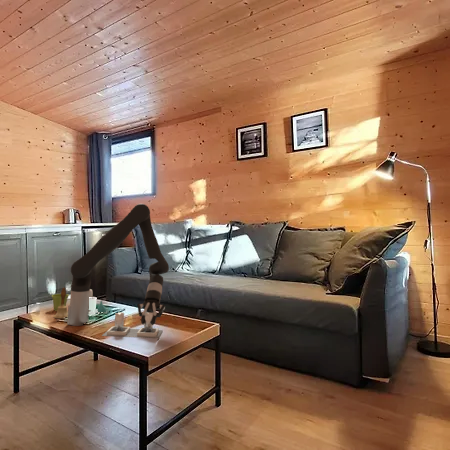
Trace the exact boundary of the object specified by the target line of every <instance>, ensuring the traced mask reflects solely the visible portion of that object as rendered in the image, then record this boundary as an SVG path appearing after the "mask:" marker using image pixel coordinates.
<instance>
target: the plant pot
mask: <svg viewBox="0 0 450 450" xmlns="http://www.w3.org/2000/svg"><path fill="white" fill-rule="evenodd" d="M51 297H52V298H51V299H52V306H53V310H54V311H56V312H57V310H58V307H59V306H61V300H62V299H61V293H56V294H52V295H51ZM69 297H70V295H69V294H68V293H66V296H65V300H64V306H66V307H67V302H68V298H69Z"/></svg>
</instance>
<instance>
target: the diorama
mask: <svg viewBox="0 0 450 450" xmlns="http://www.w3.org/2000/svg"><path fill="white" fill-rule="evenodd" d="M97 311H98V312H106V311H108V310H107V307H106V306H104V305H103V300H100V303H99V305H98V307H97V309H96V312H97Z"/></svg>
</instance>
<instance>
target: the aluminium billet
mask: <svg viewBox="0 0 450 450" xmlns="http://www.w3.org/2000/svg"><path fill="white" fill-rule="evenodd" d="M153 316H154V313H153V312H151V311H148V312H145V320H144V325H143V328H144V332H152V330H153V328H154V327H153V326H154V325H152V319H153Z"/></svg>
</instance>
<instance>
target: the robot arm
mask: <svg viewBox="0 0 450 450" xmlns="http://www.w3.org/2000/svg"><path fill="white" fill-rule="evenodd" d="M138 226H139V229H140V231H141V235H142V239H143V244H144V247H145V250H146V253H147V255H148V259H151V260H154V259H155V260H156V262H152V263H151V264H150V265H149V267H148V272H149V280H148V285H147V289H146V293H145V298H144V301H143V303H137V310H138V311H137V312H138V315H139V316H138V317H141V318H140V322H141V324H142V325H143V326H144V320H145V312H148V311H151V312H153V319H152V325H153V326H154V325H155V324H156V322H157V318H161V317H162V315H163V313H164V312H165V309H166V306H165V304H161V299H162V295H163V294H162V293H163V285H164V277H163V276H162V275H163V274H167V273H168V272H169V269H170V266H169V263H168V261H167V260H166V258H165V257H164V255H163V254H162V251H161V248H160V246H159V243H158V239H157V237H156V234H155V231H154V229H153V226H152V220H151V210H150V208H149V206H147V204H145V203H138V204H136V205H134V207H133V208H132V209H131V210H130V211H129V212H128V214H127V215H126V216H125V217H124V218H123V219H122V220H120V221H119V222H117V223H116V224H115V225H114V226H112V227H111V228H110V229H109V230H108V231H107V232H105V233H104V234H103V236H101V237H100V238H99V240H98V241H97V242H96V243H95V244H94V245H93V246H92V248H91V249H90V250H88V251H87V252H86V253H85V254H84V255H83V256H81V257H80V258H78V260H76V261H74V262H73V263H72V265H71V267H70V274H71V275H72V281H71V286H70V295H69V297H70V299H69V300H70V301H69V305H68V306H67V312H68V318H67V325H69V326H75V327H76V326H79V327H80V326H84V325H83V324H84V323H86V322H87V321H88V322H89V312H90V311H89V310H90V309H89V297H90V289H91V284H92V274H93V273H92V272H93V269H94V268H95V266H96V265H97V264H98V263H99V262H100V261H101V260H103V259H104V258H106V257H107V256H108V255H110V254H111V253H112V252H113V251H115V250H116V249H117V248H118V247H119V246H120V245H121V244H122V243H123V242H124V241H125V240H126V239H127V237H128V236H129V235H130V234H131V232H132V231H134V229H136V227H138ZM143 308H144V309H143ZM142 309H143V312H142ZM157 310H158V312H157Z"/></svg>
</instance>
